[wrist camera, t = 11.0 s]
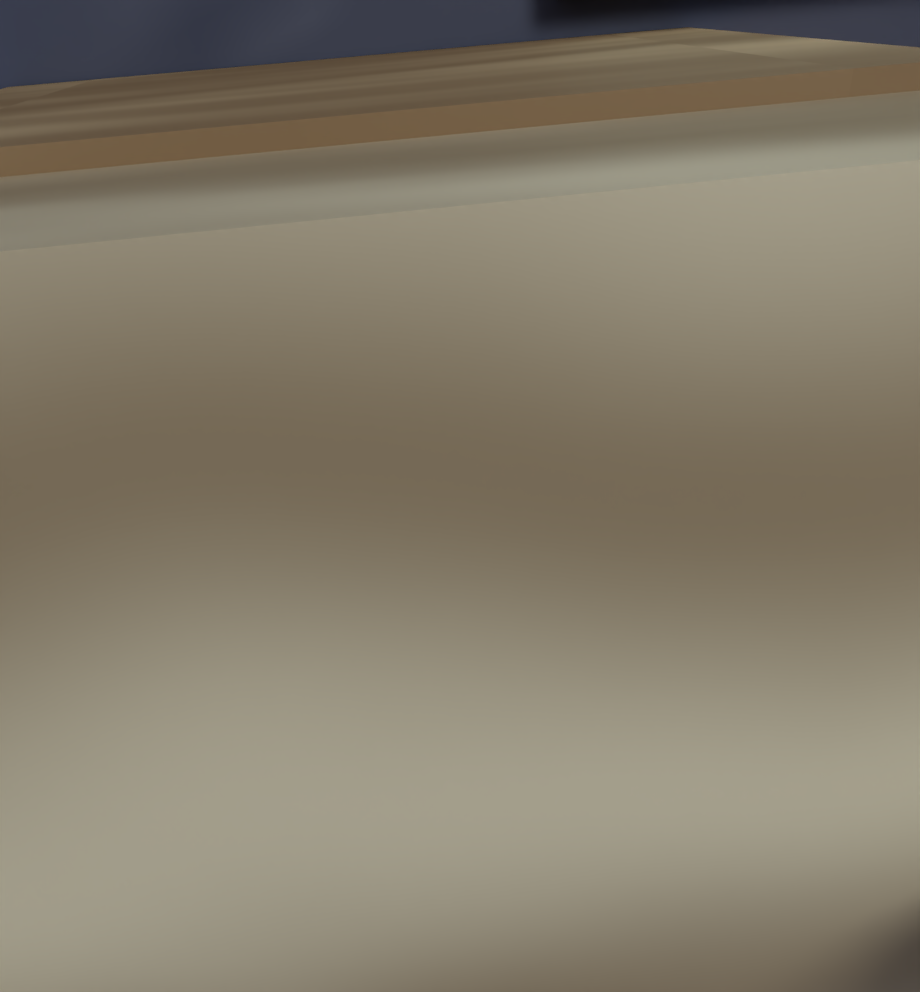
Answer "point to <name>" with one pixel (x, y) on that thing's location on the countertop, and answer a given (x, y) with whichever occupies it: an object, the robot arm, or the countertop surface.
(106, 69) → the countertop surface
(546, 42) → the toolbox
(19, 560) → the lid
